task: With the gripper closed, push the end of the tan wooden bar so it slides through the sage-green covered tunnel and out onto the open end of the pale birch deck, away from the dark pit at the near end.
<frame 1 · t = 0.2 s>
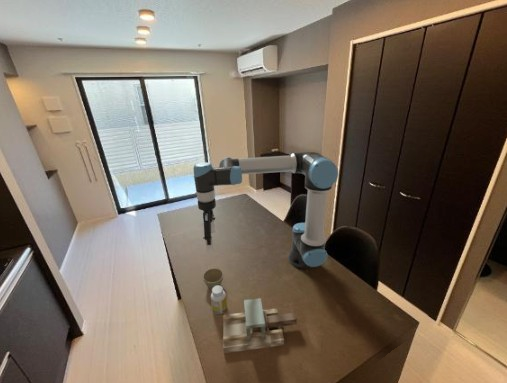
hand: (211, 240, 105), 28 cm above the table, fingers open, 13 cm apart
pill bottle: (219, 308, 104), on the table
deck: (252, 331, 93), on the table
flower pot: (214, 286, 116), on the table
tan wooden bar: (259, 325, 92), point 3 cm above the table, touching deck
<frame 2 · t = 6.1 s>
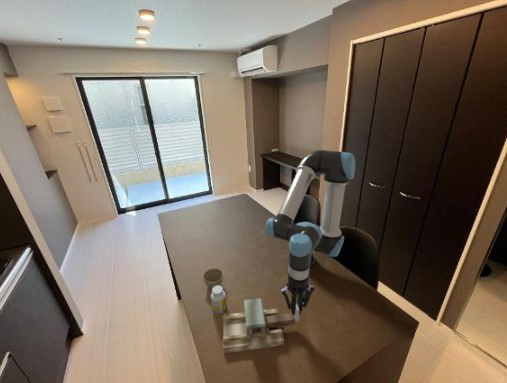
hand: (295, 318, 93), 4 cm above the table, fingers closed
tan wooden bar: (257, 326, 92), point 3 cm above the table, touching gripper
everything else where it was.
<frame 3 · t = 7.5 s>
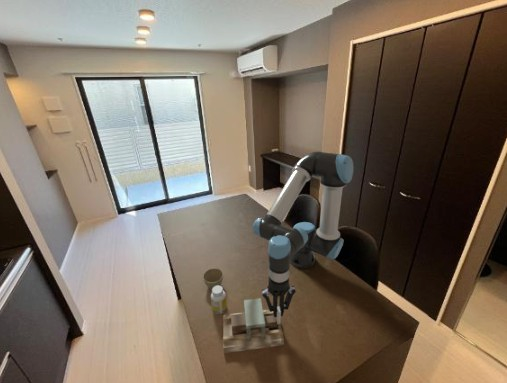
hand: (278, 320, 92), 4 cm above the table, fingers closed
tan wooden bar: (239, 328, 91), point 3 cm above the table, touching gripper
everything else where it was.
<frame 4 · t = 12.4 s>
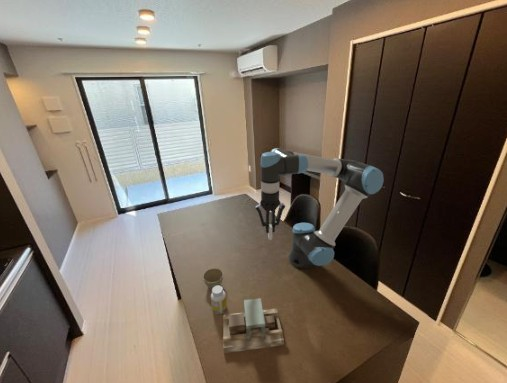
hand: (270, 238, 103), 29 cm above the table, fingers closed
tan wooden bar: (237, 328, 91), point 3 cm above the table, touching deck
everything else where it was.
at the end: tan wooden bar 2.0 cm from the target spot on the deck, point 3.0 cm above the deck's base; tan wooden bar tilted 0° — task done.
